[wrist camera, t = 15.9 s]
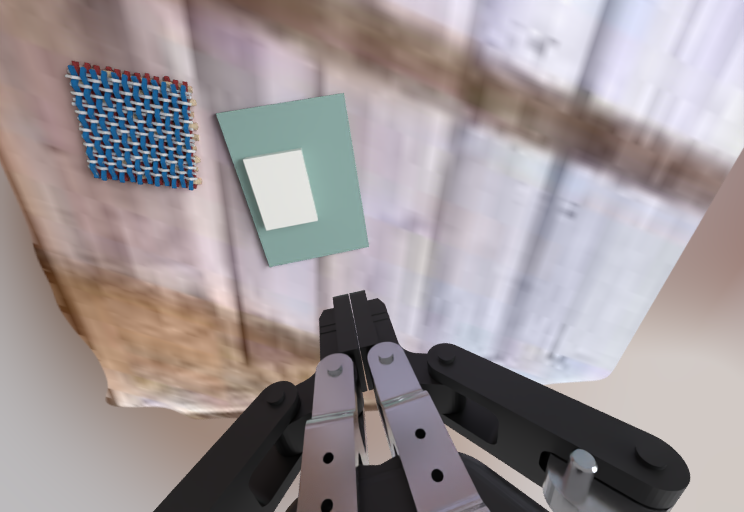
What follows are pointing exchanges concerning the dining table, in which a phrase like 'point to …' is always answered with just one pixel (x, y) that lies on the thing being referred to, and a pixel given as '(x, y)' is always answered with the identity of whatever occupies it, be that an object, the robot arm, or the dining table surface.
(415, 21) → the dining table surface
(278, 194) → the rectangular block
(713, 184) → the dining table surface
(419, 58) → the dining table surface
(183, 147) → the woven mat
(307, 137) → the mat
